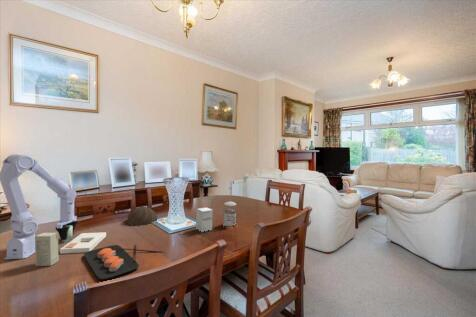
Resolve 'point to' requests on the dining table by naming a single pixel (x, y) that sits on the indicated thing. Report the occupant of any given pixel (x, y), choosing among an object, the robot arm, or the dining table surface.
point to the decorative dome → (141, 216)
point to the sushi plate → (111, 261)
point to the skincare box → (46, 249)
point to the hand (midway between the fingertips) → (67, 237)
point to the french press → (231, 211)
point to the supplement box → (204, 219)
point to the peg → (69, 234)
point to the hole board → (83, 243)
